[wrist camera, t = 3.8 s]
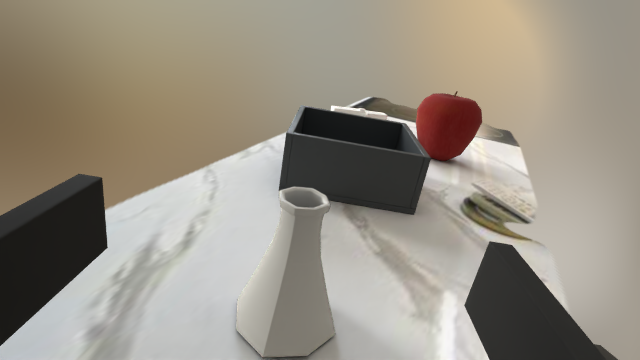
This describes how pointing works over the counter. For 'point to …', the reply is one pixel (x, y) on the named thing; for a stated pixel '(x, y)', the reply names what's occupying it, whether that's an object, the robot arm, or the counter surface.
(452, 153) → the apple
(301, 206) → the flask
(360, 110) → the napkin holder
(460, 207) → the counter surface
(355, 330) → the counter surface
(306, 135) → the storage bin
